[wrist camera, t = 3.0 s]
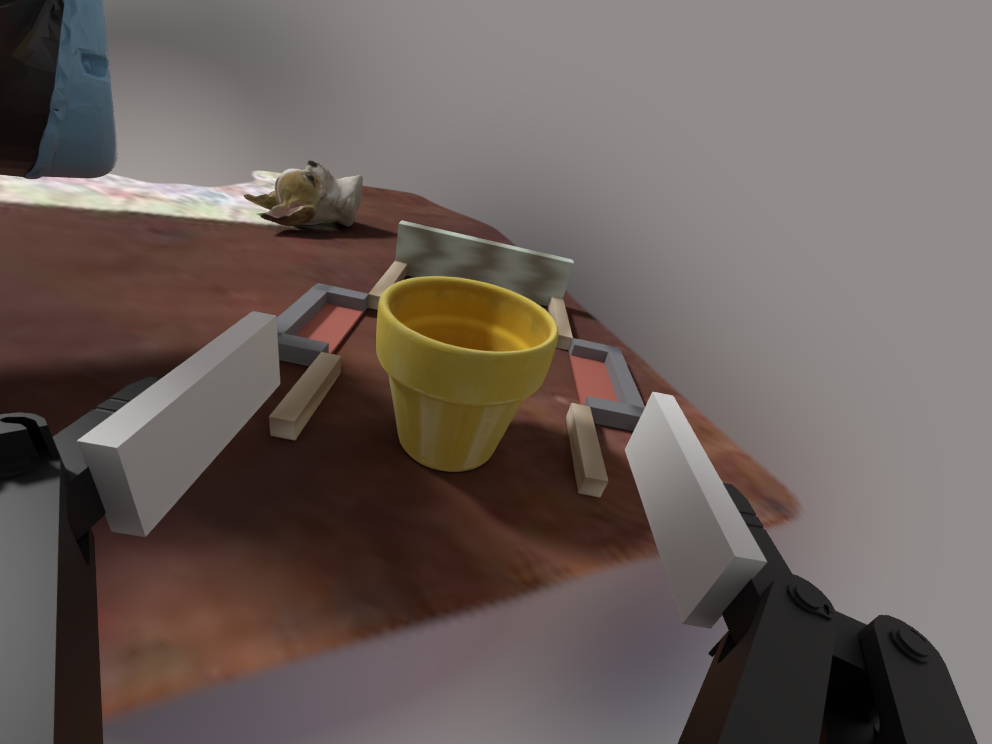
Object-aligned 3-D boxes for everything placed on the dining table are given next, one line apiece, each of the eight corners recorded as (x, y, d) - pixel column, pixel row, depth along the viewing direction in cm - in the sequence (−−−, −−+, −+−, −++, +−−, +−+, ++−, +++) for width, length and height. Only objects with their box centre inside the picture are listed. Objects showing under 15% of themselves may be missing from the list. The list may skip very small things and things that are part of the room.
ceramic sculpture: (377, 172, 59) (254, 166, 50) (376, 235, 63) (264, 240, 55) (348, 155, 65) (235, 148, 57) (349, 214, 70) (246, 215, 61)
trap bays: (255, 355, 33) (253, 338, 32) (317, 297, 43) (317, 282, 42) (642, 433, 35) (650, 418, 34) (614, 360, 45) (619, 348, 44)
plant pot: (407, 378, 34) (422, 260, 29) (531, 418, 34) (568, 303, 28) (336, 461, 26) (340, 313, 21) (501, 519, 25) (547, 378, 20)
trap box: (270, 435, 26) (263, 351, 23) (397, 268, 54) (401, 220, 51) (600, 497, 28) (635, 426, 25) (558, 304, 56) (572, 259, 52)
